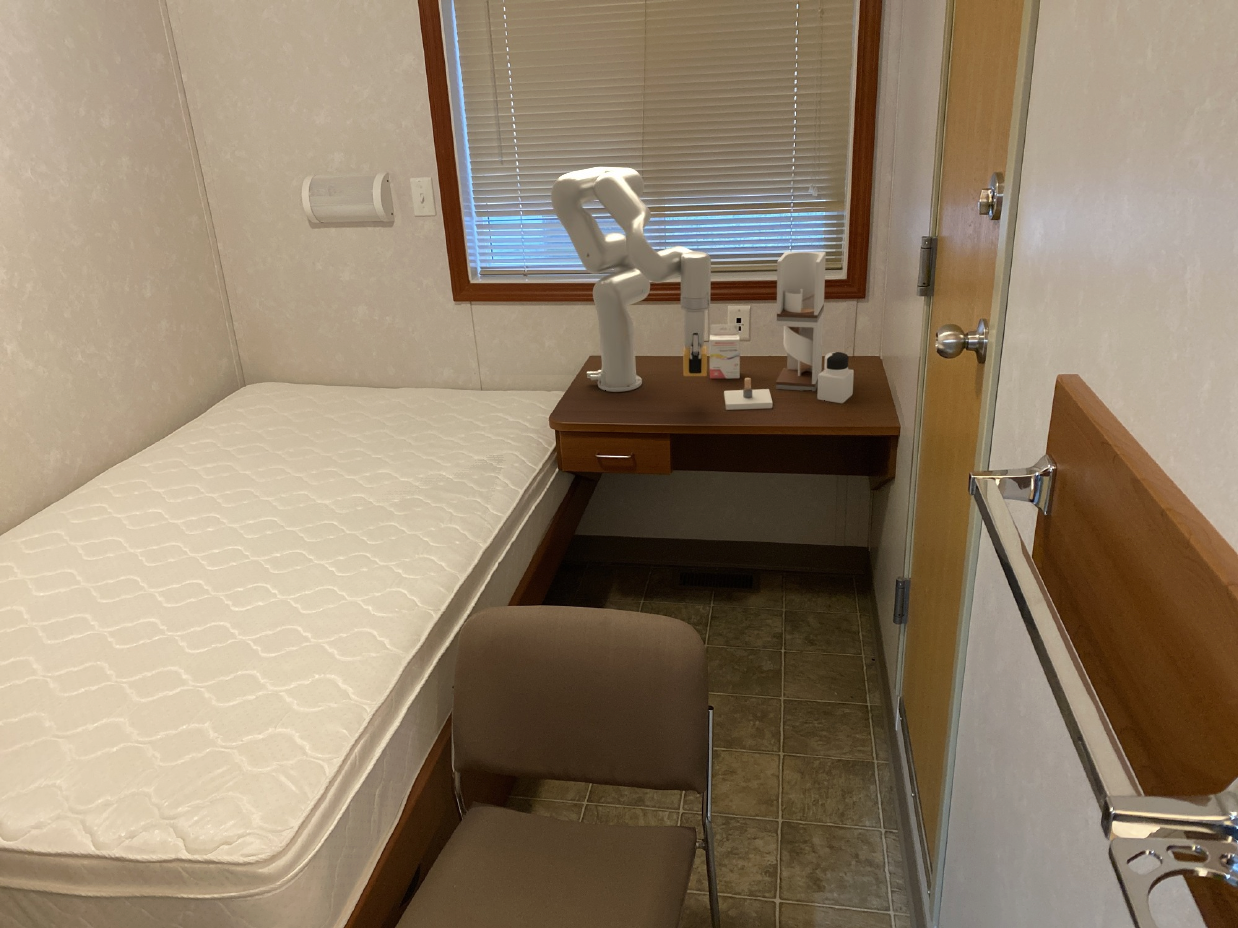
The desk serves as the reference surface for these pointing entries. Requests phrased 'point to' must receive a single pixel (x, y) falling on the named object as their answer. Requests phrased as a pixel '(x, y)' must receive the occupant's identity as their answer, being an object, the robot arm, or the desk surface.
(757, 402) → the mount plate
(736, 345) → the ink cartridge box
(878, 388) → the desk surface
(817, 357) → the spiral ramp tower
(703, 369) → the orange cube block
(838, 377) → the medicine bottle
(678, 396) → the desk surface
